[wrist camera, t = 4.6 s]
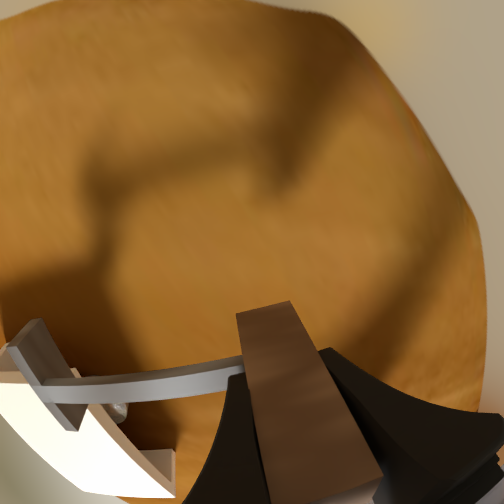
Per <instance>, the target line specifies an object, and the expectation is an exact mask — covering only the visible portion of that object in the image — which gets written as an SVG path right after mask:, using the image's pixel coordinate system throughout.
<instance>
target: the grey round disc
mask: <svg viewBox="0 0 504 504" xmlns="http://www.w3.org/2000/svg"><path fill="white" fill-rule="evenodd" d="M97 376H99V375H89V376H86V377H97ZM100 405H101V406H102V407H103V409H104V410H105V411H106V412H107V414H108V415H109V416H110V418H111V419H112V420H113V421H114V423H115V424H119V423H121V422H123V421H124V420H125V419H126V415H127V411H128V406H129V402H128V403H105V404H100Z"/></svg>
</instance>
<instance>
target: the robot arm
mask: <svg viewBox="0 0 504 504" xmlns="http://www.w3.org/2000/svg"><path fill="white" fill-rule="evenodd" d="M318 353H319V355H320V357H321V359H322V361H323V362H324V364H325V366H326V368H327V370H328V372H329V373H330V375H331V377H332V379H333V381H334V383H335V385H336V386H337V388H338V390H339V392H340V394H341V396H342V398H343V399H344V401H345V403H346V405H347V407H348V409H349V411H350V412H351V414H352V416H353V418H354V420H355V422H356V424H357V426H358V427H359V429H360V431H361V433H362V435H363V437H364V439H365V441H366V442H367V444H368V446H369V448H370V450H371V452H372V454H373V456H374V458H375V460H376V461H377V463H378V465H379V467H380V469H381V471H382V473H383V475H384V476H383V478H382V480H381V482H380V484H379V486H378V487H377V489H376V491H375V493H374V495H373V497H372V499H371V500H370V502H369V503H367V504H504V464H503V465H502V466H501V467H500V466H499V465H498V464H497V462H498V461H499V457H498V456H497V454H496V452H498V451H499V449H500V448H501V447H502V446H503V445H504V418H503V417H502V416H501V415H500V414H498V413H478V412H469V411H462V410H456V409H451V408H447V407H443V406H440V405H436V404H432V403H429V402H426V401H423V400H420V399H417V398H415V397H412V396H410V395H408V394H405V393H403V392H401V391H399V390H397V389H395V388H393V387H391V386H389V385H387V384H385V383H383V382H381V381H380V380H378V379H376V378H375V377H373V376H371V375H370V374H368V373H367V372H365V371H363V370H362V369H360V368H359V367H357V366H356V365H354V364H353V363H351V362H350V361H349V360H347V359H346V358H344V357H343V356H342V355H340V354H339V353H338V352H336V351H335V350H334V349H332V348H330V347H329V348H326V349H323V350H320V351H318ZM182 504H271V499H270V495H269V490H268V486H267V481H266V476H265V471H264V467H263V462H262V457H261V452H260V447H259V442H258V437H257V432H256V426H255V421H254V416H253V411H252V405H251V396H250V389H248V383H247V378H246V372H243V373H238V374H234V375H230V376H229V377H228V384H227V392H226V398H225V403H224V408H223V412H222V416H221V420H220V424H219V427H218V430H217V433H216V436H215V439H214V442H213V445H212V448H211V450H210V453H209V455H208V458H207V460H206V462H205V464H204V466H203V469H202V471H201V472H200V474H199V476H198V478H197V480H196V482H195V484H194V486H193V487H192V489H191V491H190V492H189V494H188V495H187V497H186V498H185V500H184V501H183V503H182Z"/></svg>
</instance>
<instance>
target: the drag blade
mask: <svg viewBox="0 0 504 504" xmlns="http://www.w3.org/2000/svg"><path fill="white" fill-rule="evenodd" d="M236 319H237V325H238V331H239V337H240V343H241V349H242V355H239V356H234V357H230V358H225V359H220V360H215V361H210V362H204V363H199V364H193V365H187V366H181V367H175V368H169V369H162V370H155V371H147V372H139V373H130V374H120V375H110V376H97V377H81V378H76V377H75V376H74V374H73V373H72V371H71V369H70V368H69V366H68V365H67V363H66V361H65V360H64V358H63V356H62V355H61V353H60V351H59V349H58V348H57V346H56V344H55V342H54V340H53V338H52V337H51V335H50V333H49V331H48V329H47V327H46V325H45V323H44V321H43V319H42V318H37V319H31V320H30V321H29V322H28V323H27V324H26V325H25V326H24V327H23V328H22V329H21V331H20V332H19V333H18V334H17V335H16V336H15V337H14V338H13V339H12V341H11V342H10V343H9V344H8V345H7V346H6V349H7V350H8V352H9V354H10V356H11V357H12V359H13V361H14V362H15V364H16V365H17V367H18V368H19V370H20V372H21V373H22V375H23V376H24V378H25V379H26V381H27V382H28V383H29V385H30V386H31V388H32V389H33V391H34V392H35V393H36V395H37V396H38V397H39V399H40V400H41V401H42V403H43V404H44V405H45V406H46V408H47V409H48V410H49V411H50V413H51V414H52V415H53V416H54V418H55V419H56V420H57V421H58V422H59V423H60V425H61V426H62V427H63V428H64V429H65V430H66V431H74V432H78V431H79V429H80V426H81V423H82V420H83V418H84V415H85V413H86V410H87V407H88V405H89V404H105V403H128V402H142V401H153V400H163V399H172V398H180V397H187V396H194V395H201V394H207V393H213V392H218V391H224V390H227V384H228V377H229V376H230V375H234V374H238V373H243V372H246V378H247V383H248V389H250V396H251V405H252V411H253V416H254V421H255V426H256V432H257V437H258V442H259V447H260V452H261V457H262V462H263V467H264V471H265V476H266V481H267V486H268V490H269V495H270V499H271V504H367V503H369V502H370V500H371V499H372V497H373V495H374V493H375V491H376V489H377V487H378V486H379V484H380V482H381V480H382V478H383V476H384V475H383V473H382V471H381V469H380V467H379V465H378V463H377V461H376V460H375V458H374V456H373V454H372V452H371V450H370V448H369V446H368V444H367V442H366V441H365V439H364V437H363V435H362V433H361V431H360V429H359V427H358V426H357V424H356V422H355V420H354V418H353V416H352V414H351V412H350V411H349V409H348V407H347V405H346V403H345V401H344V399H343V398H342V396H341V394H340V392H339V390H338V388H337V386H336V385H335V383H334V381H333V379H332V377H331V375H330V373H329V372H328V370H327V368H326V366H325V364H324V362H323V361H322V359H321V357H320V355H319V353H318V351H317V350H316V348H315V346H314V344H313V342H312V340H311V339H310V337H309V335H308V333H307V331H306V329H305V328H304V326H303V324H302V322H301V320H300V318H299V317H298V315H297V313H296V311H295V309H294V308H293V306H292V304H291V302H290V300H289V301H286V302H282V303H278V304H274V305H270V306H266V307H262V308H257V309H253V310H249V311H245V312H240V313H236Z"/></svg>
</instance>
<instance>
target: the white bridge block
mask: <svg viewBox="0 0 504 504" xmlns="http://www.w3.org/2000/svg"><path fill="white" fill-rule="evenodd" d="M8 344H9V343H6V344H5V345H4V346H3V347H2V348H1V350H0V414H1V415H2V416H3V417H4V418H5V419H6V421H7V422H8V423H9V424H10V425H11V426H12V428H13V429H14V430H15V431H16V432H17V433H18V434H19V435H20V436H21V437H22V438H23V439H24V441H26V442H27V444H29V445H30V447H31V448H33V450H35V451H36V452H37V453H38V454H39V455H40V456H41V457H42V458H43V459H44V460H45V461H46V462H48V463H49V464H50V465H51V466H52V467H53V468H54V469H56V470H57V471H58V472H59V473H61V474H62V475H63V476H64V477H65V478H67V479H68V480H69V481H70V482H72V483H73V484H74V485H76V486H77V487H78V488H80V489H81V490H82V491H85V492H91V493H98V494H106V495H115V496H126V497H145V498H176V491H175V452H174V451H173V449H161V450H140V451H139V450H138V449H137V448H136V447H135V446H134V445H133V444H132V443H131V442H130V440H129V439H128V438H127V437H126V436H125V435H124V433H123V432H122V431H121V430H120V429H119V428H118V426H117V425H116V424H115V423H114V421H113V420H112V419H111V418H110V416H109V415H108V414H107V412H106V411H105V410H104V409H103V407H102V406H101V405H100V404H89V405H88V407H87V410H86V413H85V415H84V418H83V420H82V423H81V426H80V429H79V431H78V432H74V431H66V430H65V429H64V428H63V427H62V426H61V425H60V423H59V422H58V421H57V420H56V419H55V418H54V416H53V415H52V414H51V413H50V411H49V410H48V409H47V408H46V406H45V405H44V404H43V403H42V401H41V400H40V399H39V397H38V396H37V395H36V393H35V392H34V391H33V389H32V388H31V386H30V385H29V383H28V382H27V381H26V379H25V378H24V376H23V375H22V373H21V372H20V370H19V368H18V367H17V365H16V364H15V362H14V361H13V359H12V357H11V356H10V354H9V352H8V350H7V349H6V346H7V345H8ZM70 369H71V371H72V373H73V374H74V376H75V377H76V378H81V376H80V374H79V372H78V371H77V369H76V368H70Z"/></svg>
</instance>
